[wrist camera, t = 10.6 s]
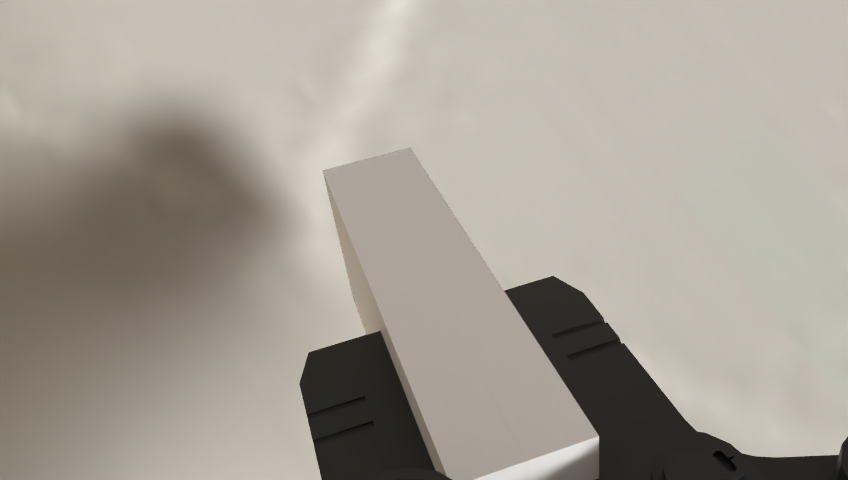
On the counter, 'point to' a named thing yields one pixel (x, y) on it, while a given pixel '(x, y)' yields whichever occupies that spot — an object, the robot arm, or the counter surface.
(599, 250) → the counter surface
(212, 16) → the counter surface
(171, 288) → the counter surface
